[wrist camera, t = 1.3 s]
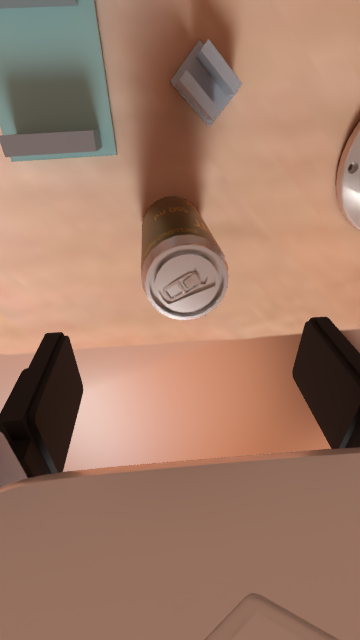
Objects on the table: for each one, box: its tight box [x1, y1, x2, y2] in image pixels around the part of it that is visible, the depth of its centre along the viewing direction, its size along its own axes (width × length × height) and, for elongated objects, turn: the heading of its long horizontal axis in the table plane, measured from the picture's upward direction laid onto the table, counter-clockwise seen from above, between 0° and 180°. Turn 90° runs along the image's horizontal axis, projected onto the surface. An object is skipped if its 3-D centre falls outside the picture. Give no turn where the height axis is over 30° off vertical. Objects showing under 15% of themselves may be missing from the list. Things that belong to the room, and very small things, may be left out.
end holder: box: [0, 0, 117, 162], centre depth 19 cm, size 8×10×4 cm
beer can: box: [141, 197, 228, 320], centre depth 22 cm, size 5×5×12 cm
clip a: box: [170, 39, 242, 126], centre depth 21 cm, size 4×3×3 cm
